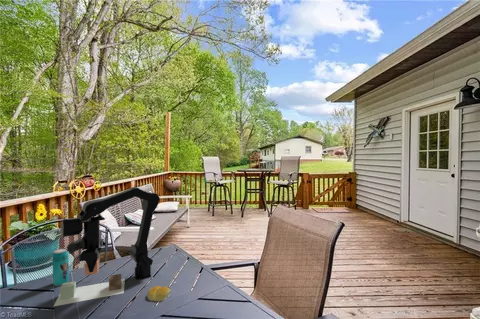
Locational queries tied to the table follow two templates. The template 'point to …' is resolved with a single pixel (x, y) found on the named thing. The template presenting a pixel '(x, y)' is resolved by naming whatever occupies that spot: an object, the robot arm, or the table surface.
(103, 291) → the white mat
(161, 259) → the table surface
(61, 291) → the sage block
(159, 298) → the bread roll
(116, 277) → the walnut block
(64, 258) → the beverage can
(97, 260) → the terracotta block
